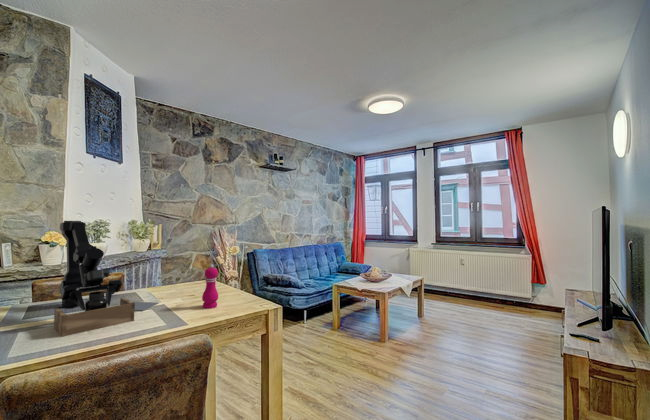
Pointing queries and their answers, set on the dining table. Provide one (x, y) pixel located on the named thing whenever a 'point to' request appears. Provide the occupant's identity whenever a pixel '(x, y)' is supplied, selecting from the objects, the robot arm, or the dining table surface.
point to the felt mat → (143, 305)
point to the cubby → (93, 318)
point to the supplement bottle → (95, 301)
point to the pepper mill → (210, 288)
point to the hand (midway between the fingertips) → (97, 307)
